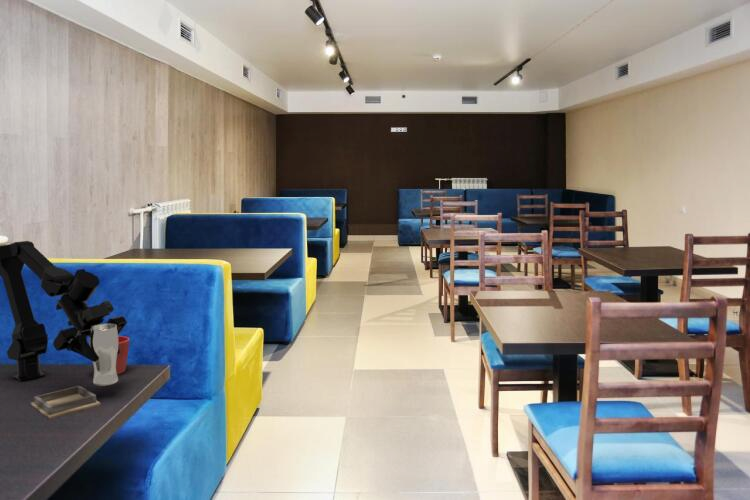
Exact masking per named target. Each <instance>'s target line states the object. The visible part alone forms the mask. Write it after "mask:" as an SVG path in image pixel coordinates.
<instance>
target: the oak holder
mask: <svg viewBox="0 0 750 500" xmlns="http://www.w3.org/2000/svg"><path fill="white" fill-rule="evenodd" d="M101 404H102V403H101V402H100V401H98V400H97V394H95V393H93V392H91V391H89V390H88V389H86V388H84V387H83V386H82V385H76V386H71V387H67V388H64V389H60V390H56V391H52V392H48V393H43V394H40V395H35V396H33V401H32V402H30V406H32V407H33V408H34V409H36V410H37V411H38V412H40V413H41V414H42V415H44V416H45V417H46V418H47V419H49V420H50V419H55V418H60V417H62V416H65V415H69V414H73V413H77V412H80V411H84V410H87V409H91V408H95V407H98V406H101Z"/></svg>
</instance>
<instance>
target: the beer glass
mask: <svg viewBox="0 0 750 500" xmlns="http://www.w3.org/2000/svg"><path fill="white" fill-rule="evenodd" d="M118 336H119V334H118V332H117V325H116V324H111V323H107V322H106V323H100V324H97V325H93V326H91V327H90V328H89V336H88V344H89V346H90V347H91V349H92V350H93V352H94V353H95V355H96V357H97V361H96V362H93V361H92V364H93V379H92V384H93V385H94V386H100V387H103V386H104V387H105V386H106V387H107V386H110V385H114V384H117V382H118V381H119V377H118V374H117V372H116V361H117V354H118Z"/></svg>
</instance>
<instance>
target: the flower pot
mask: <svg viewBox="0 0 750 500" xmlns="http://www.w3.org/2000/svg"><path fill="white" fill-rule="evenodd" d="M118 344H119V350H120V354H119V355H117V361H116V372H117V375H120V374H123V373H124V372H125V371H126V369H127V364H128V363H127V362H128V355H129V348H130V337H128V336H122V335H121V336H120V335H118Z"/></svg>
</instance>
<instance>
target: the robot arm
mask: <svg viewBox="0 0 750 500" xmlns="http://www.w3.org/2000/svg"><path fill="white" fill-rule="evenodd" d="M24 266H26V267H27V268H29V270H30V271H31V272H32V273H33V274H35V276H36V277H38V279H39V280H40V287H41V289H42V290H43V291H44V293H45V294H46V295H47V296H49V297H50V298H52V297H59V296H61V297H60V298H59V299H57V303H56V306H55V310H57V311H59V310H63V312H64V314H65V316H66V317H67V319H68V322H67V325H68V326H69V328H65V329H60V330H59V332H58V334H57V335H56V337H55V338H54V340H53V343H52V344H53V347H54V348H55V350H56V351H57V352H60V351H64V350H66V351H68V352H69V351H71V352H74V353H76V354H78V355H81V356H82V357H84V358H86V359H88V360H89V361H92V363H93V362H96V361H97V357H96V355H95V353H94V352H93V350H92V349H91V347H90V346H89V341H88V339H87V337H88V338H89V328H90V327H91V326H93V325H97V324H103V322H104V321H105V319H104V318H105V317H107V316H111V314H110V313H112V312H113V311H114V310H115V309H114V305H113V304H112V303H111V301H110V300H105V301H102V302H100V303H99V304H96V305H92V306H89V305H88V304H87V302H86V301H89V300H90V299H91V297H92V295H93V294H94V292H95V291H96V290H97V288H98V287H99V285H100V279H99V277H98V276H97V275H95V274H93V273H92V272H89V271H86V269H85V268H80V269H77V270H76V271H75V273H74V274H73V273H71V272H70V271H68V270H67V269H64V268H60V267H57V266H56V265H54V263H52V261H50V260H49V259H48V258H47V257H46V256H45V255H44V254H42V252H40V251H39V249H37V248H36V247H35V244H34V243H33V241H30V240H23V241H14V242H13V243H9V244H2V245H0V276H1V278H2V281H3V285H4V288H5V293H6V295H7V300H8V303H9V306H10V307H9V308H10V311H11V314H12V318H13V320H14V321H13V322H14V324H15V325H14V327H13V328H14V329H12V330H13V331H12V333H11V339H12V342H11V344H10V346H9V347H8V349H7V351H6V354H7V357H8V359H9V360H12V361H16V369H17V370H16V371H17V374H14V375H13V377H14V378H15V379H16V380H18V381H19V382H23V381H29V380H32V379H37V378H41V377H45V376H46V374H45V373H44V372H42V371H41V366H40V365H41V364H40V355H43V354H44V355H45V354H47V351H48V343H49V336H48V334H47V332H46V326H45V324H44V323H43V322H42V323H39V322H38V321H37V320H35V317H34V313H33V309H32V306H31V303H30V299H29V296H28V292H27V288H26V284H25V281H24V277H23V273H22V271H23V269H24ZM106 323H111V324H116V325H117V332H118V335H119V334H120V333H121V332H122V331H123V330H124V328H125V327H126V325H127V324H128V321H127V319H126V318H125V316H123V315H119V316H114V317H110V318H109V319H108V320H107V322H106ZM70 326H72V327H70ZM119 354H120V350H119V344H118V354H117V355H119Z"/></svg>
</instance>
